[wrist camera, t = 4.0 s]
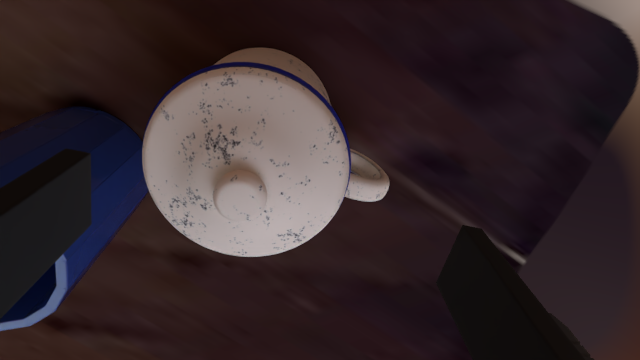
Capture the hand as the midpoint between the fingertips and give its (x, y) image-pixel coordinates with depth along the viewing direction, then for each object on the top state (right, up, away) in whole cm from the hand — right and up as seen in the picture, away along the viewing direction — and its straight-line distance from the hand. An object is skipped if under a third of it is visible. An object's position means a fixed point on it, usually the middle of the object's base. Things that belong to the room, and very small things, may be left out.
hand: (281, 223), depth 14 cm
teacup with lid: (-1, +5, +11) cm, 13 cm away
